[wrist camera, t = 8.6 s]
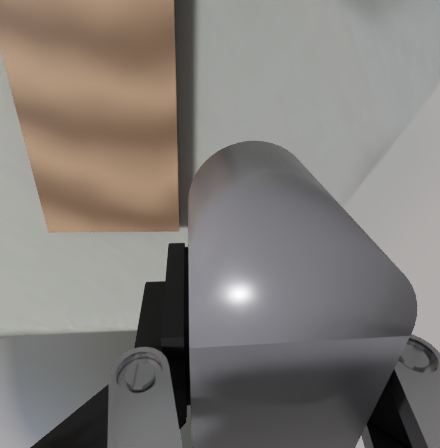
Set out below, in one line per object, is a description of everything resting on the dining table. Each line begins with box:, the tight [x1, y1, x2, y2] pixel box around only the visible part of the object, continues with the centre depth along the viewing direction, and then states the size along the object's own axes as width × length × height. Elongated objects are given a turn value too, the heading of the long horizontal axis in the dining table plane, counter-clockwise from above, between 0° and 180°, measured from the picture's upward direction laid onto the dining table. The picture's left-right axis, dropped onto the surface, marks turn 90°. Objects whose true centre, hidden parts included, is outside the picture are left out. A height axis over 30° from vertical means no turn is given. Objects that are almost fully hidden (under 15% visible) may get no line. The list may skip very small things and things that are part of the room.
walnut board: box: [0, 0, 179, 232], centre depth 25 cm, size 20×12×2 cm, turn 177°
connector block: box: [188, 141, 417, 448], centre depth 10 cm, size 12×4×6 cm, turn 178°
